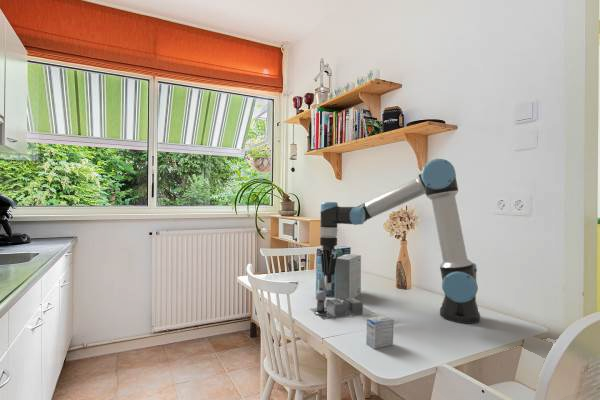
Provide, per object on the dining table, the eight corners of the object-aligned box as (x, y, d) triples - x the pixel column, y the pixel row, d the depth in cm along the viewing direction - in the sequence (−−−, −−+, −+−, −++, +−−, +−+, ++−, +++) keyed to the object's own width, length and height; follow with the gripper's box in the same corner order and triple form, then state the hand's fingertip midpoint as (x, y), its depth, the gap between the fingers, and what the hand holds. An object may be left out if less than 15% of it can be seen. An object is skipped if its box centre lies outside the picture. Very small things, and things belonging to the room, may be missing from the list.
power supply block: (345, 314, 144) (346, 303, 144) (334, 315, 142) (335, 304, 142) (336, 308, 151) (336, 298, 151) (326, 309, 149) (326, 299, 149)
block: (362, 312, 147) (362, 302, 147) (352, 313, 145) (352, 303, 145) (352, 306, 154) (353, 297, 154) (342, 307, 152) (343, 298, 152)
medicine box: (384, 340, 119) (384, 315, 119) (393, 345, 115) (394, 319, 115) (365, 344, 116) (366, 318, 116) (374, 349, 112) (375, 322, 112)
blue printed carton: (343, 288, 187) (344, 245, 187) (350, 291, 183) (351, 247, 183) (315, 293, 176) (316, 248, 176) (321, 296, 172) (322, 249, 172)
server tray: (375, 315, 146) (376, 300, 146) (322, 321, 136) (322, 305, 136) (358, 305, 159) (358, 291, 159) (307, 310, 149) (308, 296, 149)
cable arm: (325, 300, 142) (326, 291, 142) (315, 300, 142) (316, 291, 142) (325, 285, 166) (325, 277, 166) (316, 285, 167) (316, 277, 167)
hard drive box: (346, 292, 180) (347, 253, 180) (361, 294, 176) (362, 255, 176) (333, 299, 167) (334, 257, 167) (348, 302, 163) (349, 259, 163)
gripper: (343, 237, 152) (342, 292, 152) (329, 235, 164) (328, 285, 164) (327, 238, 149) (326, 294, 149) (314, 235, 161) (314, 287, 161)
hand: (327, 289), depth 156 cm, fingers closed
